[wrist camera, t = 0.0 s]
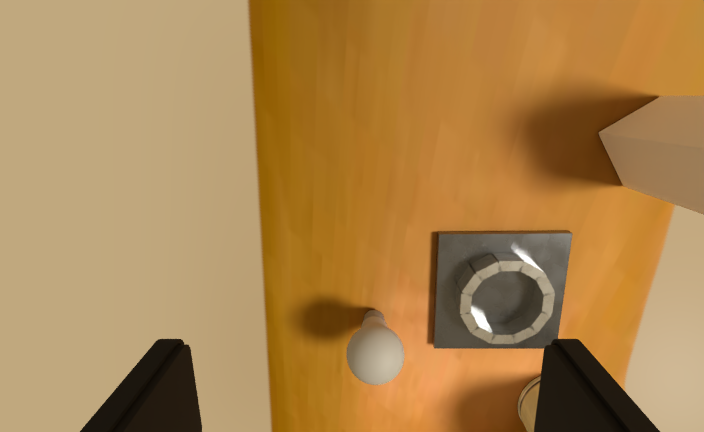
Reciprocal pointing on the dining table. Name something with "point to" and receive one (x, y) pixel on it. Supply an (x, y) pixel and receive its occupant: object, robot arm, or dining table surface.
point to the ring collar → (499, 288)
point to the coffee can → (529, 404)
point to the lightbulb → (375, 351)
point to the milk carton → (661, 150)
